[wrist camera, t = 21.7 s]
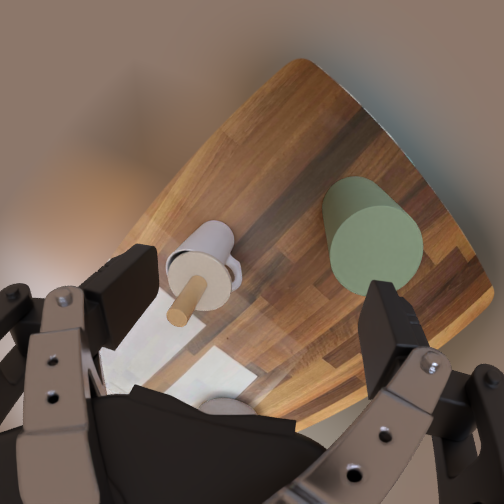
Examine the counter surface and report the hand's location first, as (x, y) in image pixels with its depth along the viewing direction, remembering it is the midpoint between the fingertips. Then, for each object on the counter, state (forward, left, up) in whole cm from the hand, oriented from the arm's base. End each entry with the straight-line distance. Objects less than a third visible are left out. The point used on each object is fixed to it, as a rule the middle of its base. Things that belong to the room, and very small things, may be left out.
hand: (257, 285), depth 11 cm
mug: (+11, -13, -34) cm, 38 cm away
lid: (+11, -13, -22) cm, 28 cm away
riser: (+8, +8, -34) cm, 36 cm away
